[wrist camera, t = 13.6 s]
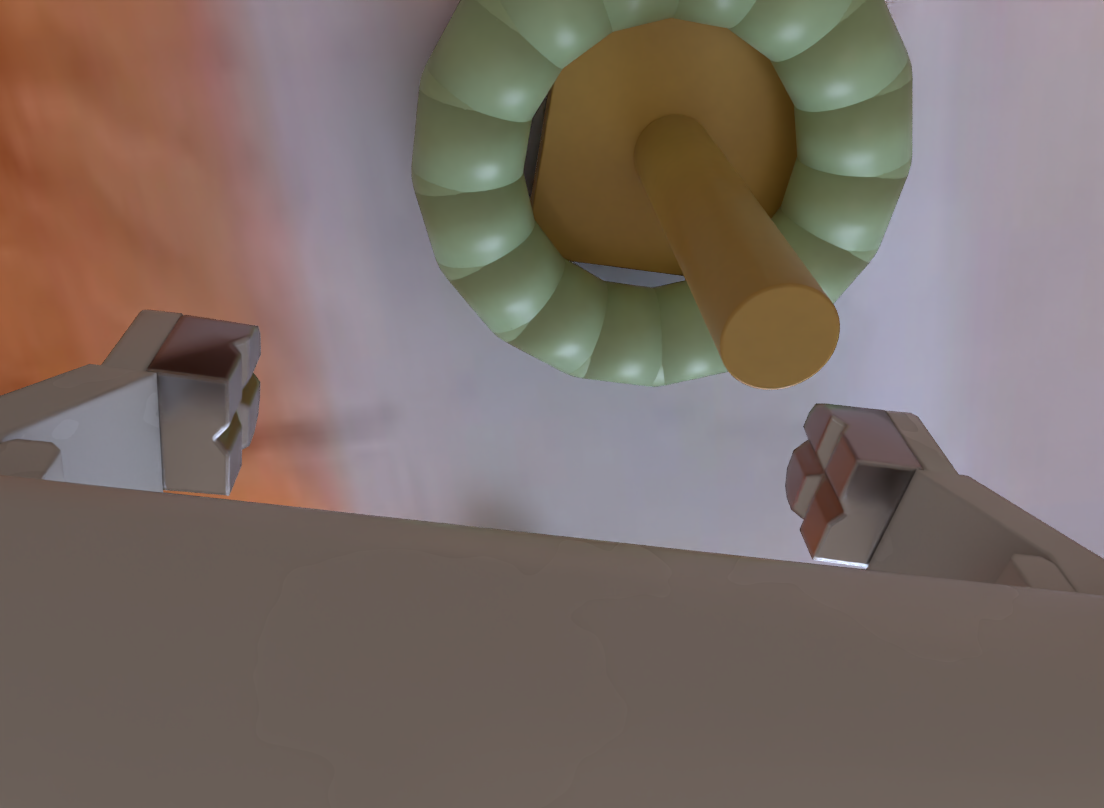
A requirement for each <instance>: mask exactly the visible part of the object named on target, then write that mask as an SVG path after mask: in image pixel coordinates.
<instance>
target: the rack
mask: <svg viewBox="0 0 1104 808" xmlns="http://www.w3.org/2000/svg"><path fill="white" fill-rule="evenodd" d="M796 158H797V145H796V130H795V115H794V104H793V102H792V100H791V98H790V96H789V95H788V93H787V91H786V89H785V87H784V85H783V83H782V81H781V80H780V78H779V76H778V74H777V72H776V70H775V68H774V66H773V65H772V63H771V61H770V59H768V58H767V57H766V56H764V55H763V54H762V53H760V52H759V51H758V50H756V49H755V48H753V47H752V46H751V45H749V44H748V43H747V42H745V41H744V40H742V39H741V38H740V37H738V36H737V35H736V34H734V33H733V32H732V31H730V30H729V29H727V28H723V27H718V26H712V25H707V24H702V23H696V22H691V21H686V20H680V19H675V18H668V19H664V20H660V21H656V22H651V23H647V24H643V25H639V26H635V27H631V28H627V29H623V30H619V31H614V32H612V33H610V34H609V35H608V36H606V37H605V38H604V39H602V40H601V41H600V42H598V43H597V44H595V45H594V46H593V47H591V48H590V49H589V50H587V51H586V52H585V53H583V54H582V55H581V56H579V57H578V58H576V59H575V60H574V61H572V62H571V63H570V64H568V65H567V66H566V67H564V68H563V69H562V71H561V72H560V74H559V76H558V77H557V79H556V80H555V82H554V84H553V85H552V87H551V89H550V90H549V92H548V96H547V102H546V109H545V115H544V121H543V127H542V133H541V139H540V145H539V151H538V157H537V164H536V170H535V176H534V182H533V188H532V194H531V200H530V202H531V206H532V211H533V215H534V219H535V221H536V222H537V224H538V225H539V226H540V228H541V229H542V230H543V232H544V233H545V234H546V236H547V237H548V238H549V240H550V241H551V242H552V244H553V245H554V246H555V247H556V249H557V250H558V251H559V253H560V254H561V255H562V257H563V258H565V259H567V260H568V261H575V262H583V263H590V264H598V265H606V266H613V267H621V268H628V269H636V270H643V271H651V272H659V273H666V274H674V275H681V276H684V277H685V279H686V281H687V284H688V286H689V288H690V290H691V293H692V295H693V297H694V299H695V301H696V304H697V306H698V308H699V310H700V313H701V315H702V317H703V319H704V321H705V324H706V326H707V328H708V330H709V333H710V335H711V337H712V339H713V341H714V344H715V346H716V348H717V350H718V353H719V355H720V357H721V359H722V361H723V364H724V365H725V367H726V369H727V370H728V372H729V373H730V374H731V375H732V376H733V377H734V378H735V379H737V380H738V381H740V382H741V383H743V384H745V385H748V386H750V387H753V388H757V389H763V390H778V389H784V388H788V387H791V386H794V385H797V384H799V383H801V382H803V381H805V380H807V379H809V378H810V377H812V376H813V375H814V374H816V373H817V372H818V371H819V370H820V369H821V368H822V367H823V366H824V365H825V364H826V363H827V361H828V360H829V359H830V357H831V356H832V354H833V352H834V350H835V348H836V345H837V342H838V338H839V332H840V322H839V316H838V313H837V310H836V308H835V306H834V304H833V303H832V301H831V300H830V299H829V297H828V296H827V295H826V293H825V292H824V291H823V289H822V288H821V286H820V285H819V284H818V282H817V281H816V280H815V278H814V277H813V276H812V274H811V273H810V271H809V270H808V269H807V267H806V266H805V265H804V263H803V262H802V261H801V259H800V258H799V256H798V255H797V254H796V252H795V251H794V250H793V248H792V247H791V246H790V244H789V243H788V241H787V240H786V239H785V237H784V236H783V235H782V233H781V232H780V231H779V229H778V228H777V226H776V225H775V224H774V222H773V221H772V220H771V218H772V217H773V216H774V214H775V213H776V212H777V210H778V209H779V208H780V207H781V204H782V201H783V198H784V195H785V192H786V189H787V186H788V183H789V180H790V177H791V173H792V170H793V167H794V164H795V161H796Z"/></svg>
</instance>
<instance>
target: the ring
mask: <svg viewBox="0 0 1104 808" xmlns="http://www.w3.org/2000/svg"><path fill="white" fill-rule="evenodd" d="M668 18H675V19H680V20H686V21H691V22H696V23H702V24H707V25H712V26H718V27H723V28H727V29H729V30H730V31H732V32H733V33H734V34H736V35H737V36H738V37H740V38H741V39H742V40H744V41H745V42H747V43H748V44H749V45H751V46H752V47H753V48H755V49H756V50H758V51H759V52H760V53H762V54H763V55H764V56H766V57H767V58H768V59H770V61H771V63H772V65H773V66H774V68H775V70H776V72H777V74H778V76H779V78H780V80H781V81H782V83H783V85H784V87H785V89H786V91H787V93H788V95H789V96H790V98H791V100H792V102H793V104H794V115H795V130H796V145H797V158H796V161H795V164H794V167H793V170H792V173H791V177H790V180H789V183H788V186H787V189H786V192H785V195H784V198H783V201H782V204H781V207H780V208H779V209H778V210H777V212H776V213H775V214H774V216H773V217H772V218H771V220H772V221H773V222H774V224H775V225H776V226H777V228H778V229H779V231H780V232H781V233H782V235H783V236H784V237H785V239H786V240H787V241H788V243H789V244H790V246H791V247H792V248H793V250H794V251H795V252H796V254H797V255H798V256H799V258H800V259H801V261H802V262H803V263H804V265H805V266H806V267H807V269H808V270H809V271H810V273H811V274H812V276H813V277H814V278H815V280H816V281H817V282H818V284H819V285H820V286H821V288H822V289H823V291H824V292H825V293H826V295H827V296H828V297H829V299H830V300H831V301H832V303H833V304H834V303H835V302H836V300H837V299H838V298H839V297H840V296H841V295H842V294H843V292H844V291H845V290H846V289H847V288H848V287H849V286H850V284H851V283H852V282H853V281H854V280H855V279H856V277H857V276H858V275H859V274H860V273H861V272H862V271H863V269H864V268H865V267H866V266H867V265H868V264H869V262H870V261H871V260H872V259H873V257H874V256H875V254H876V253H877V250H878V248H879V246H880V244H881V242H882V239H883V237H884V234H885V232H886V229H887V227H888V224H889V222H890V219H891V217H892V214H893V211H894V209H895V206H896V204H897V201H898V199H899V196H900V194H901V191H902V189H903V186H904V184H905V181H906V179H907V176H908V173H909V169H910V166H911V161H912V66H911V62H910V59H909V56H908V52H907V50H906V48H905V46H904V43H903V41H902V39H901V37H900V34H899V32H898V30H897V28H896V26H895V23H894V21H893V19H892V17H891V14H890V12H889V10H888V8H887V5H886V3H885V1H884V0H460V2H459V4H458V6H457V8H456V10H455V12H454V13H453V15H452V17H451V19H450V21H449V23H448V24H447V26H446V28H445V30H444V32H443V34H442V35H441V37H440V39H439V41H438V43H437V45H436V47H435V48H434V50H433V52H432V54H431V56H430V58H429V59H428V61H427V63H426V65H425V68H424V70H423V73H422V75H421V80H420V85H419V95H418V105H417V115H416V125H415V135H414V145H413V155H412V182H413V187H414V191H415V194H416V197H417V201H418V204H419V207H420V210H421V213H422V217H423V220H424V223H425V226H426V229H427V233H428V236H429V239H430V242H431V245H432V249H433V252H434V255H435V258H436V261H437V263H438V265H439V268H440V269H441V271H442V272H443V274H444V275H445V277H446V278H447V279H448V280H449V282H450V283H451V284H452V285H453V286H454V287H455V289H456V290H457V291H458V292H459V293H460V295H461V296H462V297H463V298H464V299H465V300H466V302H467V303H468V304H469V305H470V306H471V308H472V309H473V310H474V311H475V312H476V313H477V315H478V316H479V317H480V318H481V319H482V321H483V322H484V323H485V324H486V325H487V326H488V328H489V329H490V330H491V331H492V332H493V333H494V334H495V335H496V336H497V337H499V338H500V339H502V340H503V341H505V342H507V343H508V344H510V345H512V346H514V347H516V348H518V349H520V350H522V351H524V352H526V353H528V354H529V355H531V356H533V357H535V358H537V359H539V360H541V361H543V362H545V363H547V364H548V365H550V366H552V367H554V368H556V369H558V370H560V371H562V372H564V373H566V374H569V375H571V376H574V377H579V378H584V379H592V380H600V381H608V382H616V383H624V384H632V385H641V386H652V387H658V386H665V385H669V384H674V383H678V382H683V381H688V380H692V379H697V378H702V377H706V376H711V375H715V374H720V373H725V372H728V370H727V369H726V367H725V365H724V364H723V361H722V359H721V357H720V355H719V353H718V350H717V348H716V346H715V344H714V341H713V339H712V337H711V335H710V333H709V330H708V328H707V326H706V324H705V321H704V319H703V317H702V315H701V313H700V310H699V308H698V306H697V304H696V301H695V299H694V297H693V295H692V293H691V290H690V288H689V286H688V284H687V281H686V280H685V281H681V282H676V283H672V284H667V285H663V286H659V287H654V288H651V287H643V286H636V285H629V284H622V283H615V282H608V281H603V280H601V279H600V278H598V277H596V276H594V275H593V274H591V273H589V272H587V271H586V270H584V269H582V268H580V267H579V266H577V265H575V264H574V263H572V262H570V261H568V260H567V259H565V258H563V257H562V255H561V254H560V253H559V251H558V250H557V249H556V247H555V246H554V245H553V244H552V242H551V241H550V240H549V238H548V237H547V236H546V234H545V233H544V232H543V230H542V229H541V228H540V226H539V225H538V224H537V222H536V221H535V219H534V215H533V211H532V206H531V202H530V198H529V194H528V190H527V186H526V181H525V177H524V173H523V170H524V164H525V158H526V152H527V146H528V140H529V134H530V128H531V122H532V118H533V116H534V115H535V113H536V111H537V110H538V108H539V106H540V105H541V103H542V102H543V100H544V98H545V97H546V95H547V93H548V92H549V90H550V89H551V87H552V85H553V84H554V82H555V80H556V79H557V77H558V76H559V74H560V72H561V71H562V69H563V68H564V67H566V66H567V65H568V64H570V63H571V62H572V61H574V60H575V59H576V58H578V57H579V56H581V55H582V54H583V53H585V52H586V51H587V50H589V49H590V48H591V47H593V46H594V45H595V44H597V43H598V42H600V41H601V40H602V39H604V38H605V37H606V36H608V35H609V34H610V33H612V32H614V31H619V30H623V29H627V28H631V27H635V26H639V25H643V24H647V23H651V22H656V21H660V20H664V19H668Z"/></svg>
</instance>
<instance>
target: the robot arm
mask: <svg viewBox="0 0 1104 808" xmlns="http://www.w3.org/2000/svg"><path fill="white" fill-rule="evenodd" d="M260 355H261V342H260V331H259V327H258V326H255V325H249V324H242V323H236V322H229V321H223V320H216V319H210V318H204V317H197V316H191V315H183V314H182V313H174V312H165V311H156V310H142V311H141V312H140V313H139V314H138V315H137V317H136V318H135V319H134V321H133V322H132V324H131V325H130V326H129V328H128V329H127V330H126V332H125V333H124V334H123V336H122V337H121V339H120V340H119V341H118V343H117V344H116V345H115V347H114V348H113V349H112V351H111V352H110V354H109V355H108V356H107V358H106V359H105V360H104V362H103V363H102V364H101V365H93V364H88V365H86V366H83V367H80V368H77V369H74V370H72V371H69V372H66V373H63V374H60V375H58V376H55V377H52V378H49V379H46V380H44V381H41V382H38V383H35V384H32V385H30V386H27V387H24V388H21V389H18V390H16V391H13V392H10V393H7V394H4V395H2V396H0V808H1104V559H1103V558H1101V557H1099V556H1098V555H1096V554H1095V553H1093V552H1091V551H1090V550H1088V549H1086V548H1085V547H1083V546H1081V545H1080V544H1078V543H1077V542H1075V541H1073V540H1072V539H1070V538H1068V537H1067V536H1065V535H1064V534H1062V533H1060V532H1059V531H1057V530H1055V529H1054V528H1052V527H1051V526H1049V525H1047V524H1046V523H1044V522H1042V521H1041V520H1039V519H1037V518H1036V517H1034V516H1033V515H1031V514H1029V513H1028V512H1026V511H1024V510H1023V509H1021V508H1020V507H1018V506H1016V505H1015V504H1013V503H1011V502H1010V501H1008V500H1007V499H1005V498H1003V497H1002V496H1000V495H998V494H997V493H995V492H993V491H992V490H990V489H989V488H987V487H985V486H984V485H982V484H980V483H979V482H977V481H976V480H974V479H972V478H971V477H969V476H964V475H959V474H958V473H957V471H956V470H955V469H954V467H953V466H952V464H951V463H950V462H949V460H948V459H947V457H946V456H945V454H944V453H943V452H942V450H941V449H940V447H939V446H938V444H937V443H936V442H935V440H934V439H933V437H932V436H931V435H930V433H929V432H928V430H927V429H926V427H925V426H924V425H923V423H922V422H921V420H920V419H919V417H918V416H916V415H914V414H912V413H907V412H896V411H885V410H878V409H869V408H860V407H851V406H842V405H833V404H815V406H814V407H813V408H812V410H811V411H810V412H809V414H808V417H807V419H806V421H805V424H804V426H803V427H804V429H805V432H806V435H807V438H808V440H807V441H806V442H804V443H803V444H801V445H800V446H799V447H797V448H796V449H795V450H794V451H793V453H792V456H791V459H790V462H789V464H788V467H787V474H786V483H785V488H786V495H787V500H788V502H789V505H790V508H791V510H792V511H794V512H795V513H796V514H797V515H799V516H800V517H801V518H802V519H804V521H803V523H802V525H801V528H800V532H801V534H802V536H803V539H804V541H805V543H806V546H807V548H808V550H809V553H810V555H811V557H812V559H813V560H817V561H824V562H832V563H839V564H846V565H853V566H861V567H867V569H866V570H865V569H856V568H847V567H838V566H829V565H820V564H811V563H801V562H792V561H783V560H774V559H765V558H756V557H747V556H738V555H728V554H719V553H710V552H701V551H692V550H683V549H674V548H664V547H655V546H646V545H637V544H628V543H619V542H610V541H601V540H592V539H583V538H574V537H564V536H555V535H546V534H537V533H528V532H519V531H510V530H501V529H492V528H483V527H474V526H465V525H455V524H446V523H437V522H428V521H419V520H410V519H401V518H392V517H383V516H374V515H365V514H356V513H346V512H337V511H328V510H319V509H310V508H301V507H292V506H283V505H274V504H265V503H256V502H246V501H237V500H228V499H219V498H209V497H200V496H191V495H182V494H172V493H163V490H171V491H183V492H194V493H206V494H218V495H230V492H231V490H232V487H233V485H234V482H235V480H236V478H237V475H238V473H239V470H240V468H241V465H242V449H244V448H246V447H248V446H249V445H250V442H251V440H252V437H253V434H254V431H255V426H256V422H257V417H258V411H259V401H260V381H259V380H258V378H257V377H256V376H255V374H254V373H253V371H254V369H255V367H256V364H257V362H258V360H259V357H260Z"/></svg>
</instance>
